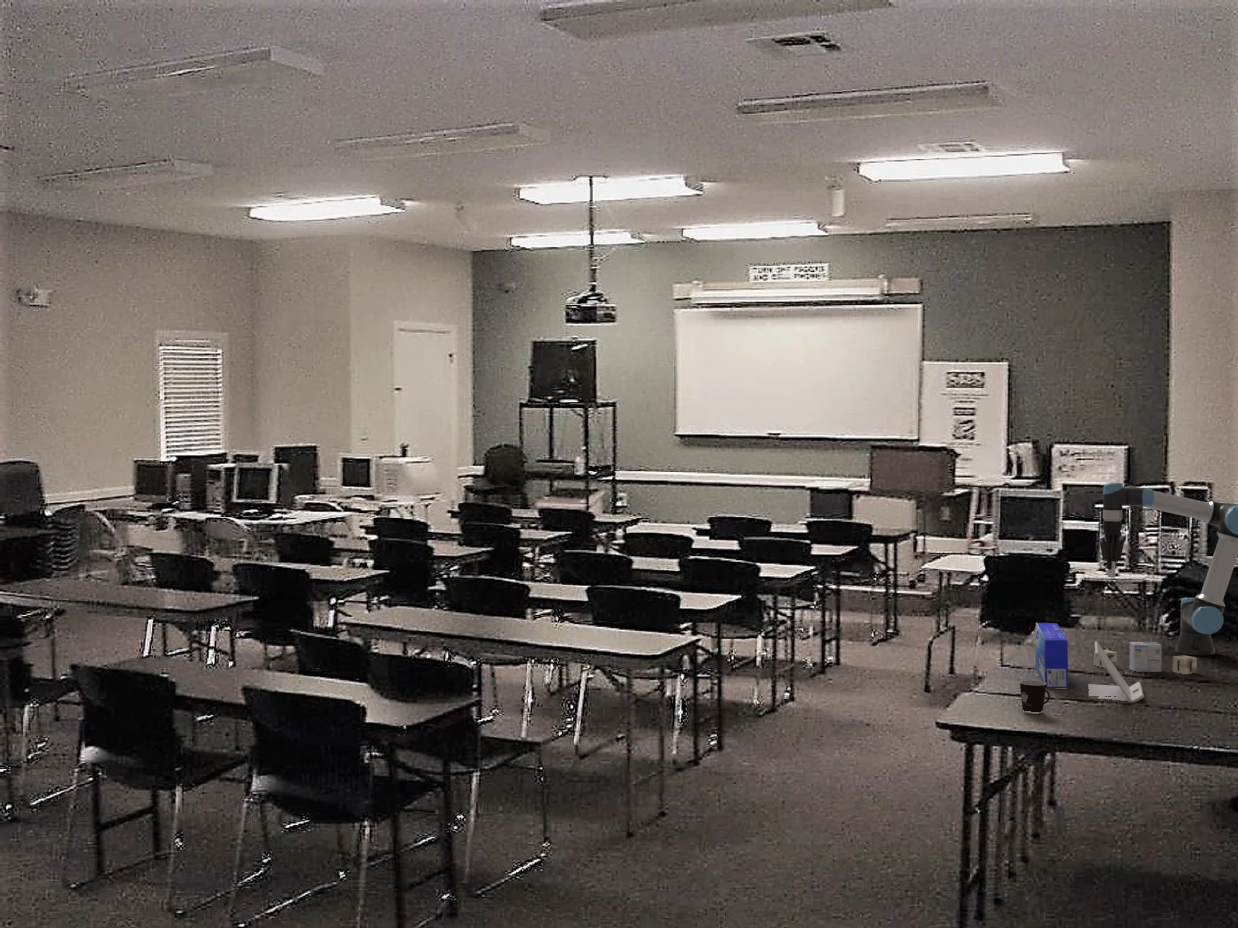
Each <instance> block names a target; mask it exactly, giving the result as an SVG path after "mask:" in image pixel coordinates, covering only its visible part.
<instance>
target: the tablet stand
mask: <svg viewBox="0 0 1238 928" xmlns="http://www.w3.org/2000/svg"><path fill="white" fill-rule="evenodd" d="M1094 649H1095V650H1094V651H1095V652H1096V655H1097V656H1098V658H1099V659H1100V660H1101V662H1102V663H1103V665H1104V666H1105V668H1104V669H1106V670H1107V672H1108V673H1109V675H1110V676H1111V677H1112V679H1113V680H1114V682H1115V683H1116V685H1108V684H1093V683H1088V684H1087V687H1088V689H1089V691H1088V697H1089V696H1099V697H1098V699H1112V700H1121V701H1128V702H1127V703H1136V702H1138V701H1141V700H1142V699H1144V698H1145V694H1144V691H1143V687H1142V684H1141V682H1140V681H1137V682H1135V683H1134V684H1132V685H1130V686H1129V685H1128V683H1127V682H1126V681H1125V678H1123V676H1122V675H1121V673H1120V672H1119V671H1118V669H1117V667H1115V666H1114V665H1113V663H1112V662H1111V661H1110V659H1109V658H1108V656H1107V655H1106V653H1105V652H1104V651H1103V650H1104V649H1103V647H1102V646H1101V645H1100V644H1099V642H1098V641H1097V640H1096V641H1094ZM1105 696H1107V697H1105ZM1108 696H1111V697H1108ZM1114 696H1116V697H1114Z"/></svg>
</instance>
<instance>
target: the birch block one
mask: <svg viewBox="0 0 1238 928" xmlns="http://www.w3.org/2000/svg"><path fill="white" fill-rule="evenodd" d="M1197 659H1198V658H1197V657H1194V656H1189V655H1177V656H1175V655H1174V656H1172V673H1176V674H1180V673H1181V675H1184V674H1185V675H1193V674H1192V673H1196V674H1197V669H1198V667H1197V664H1198V663H1197V661H1198V660H1197Z"/></svg>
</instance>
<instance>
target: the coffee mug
mask: <svg viewBox="0 0 1238 928" xmlns="http://www.w3.org/2000/svg"><path fill="white" fill-rule="evenodd" d="M1046 684H1047V683H1045V682H1042V680H1033V679H1032V680H1031V679H1027V680H1026V679H1025V680H1020V681H1019V688H1020V689H1019V690H1020V697H1021V699H1020V701H1021V707H1022V711H1023V710H1024V711H1031V712H1041V711H1043V712H1044V706H1045V705H1046V704H1047V703H1048V702H1050V699H1051V694H1050V692H1049V691H1048V689H1046ZM1046 694H1047V699H1046V701H1045V698H1046Z"/></svg>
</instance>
